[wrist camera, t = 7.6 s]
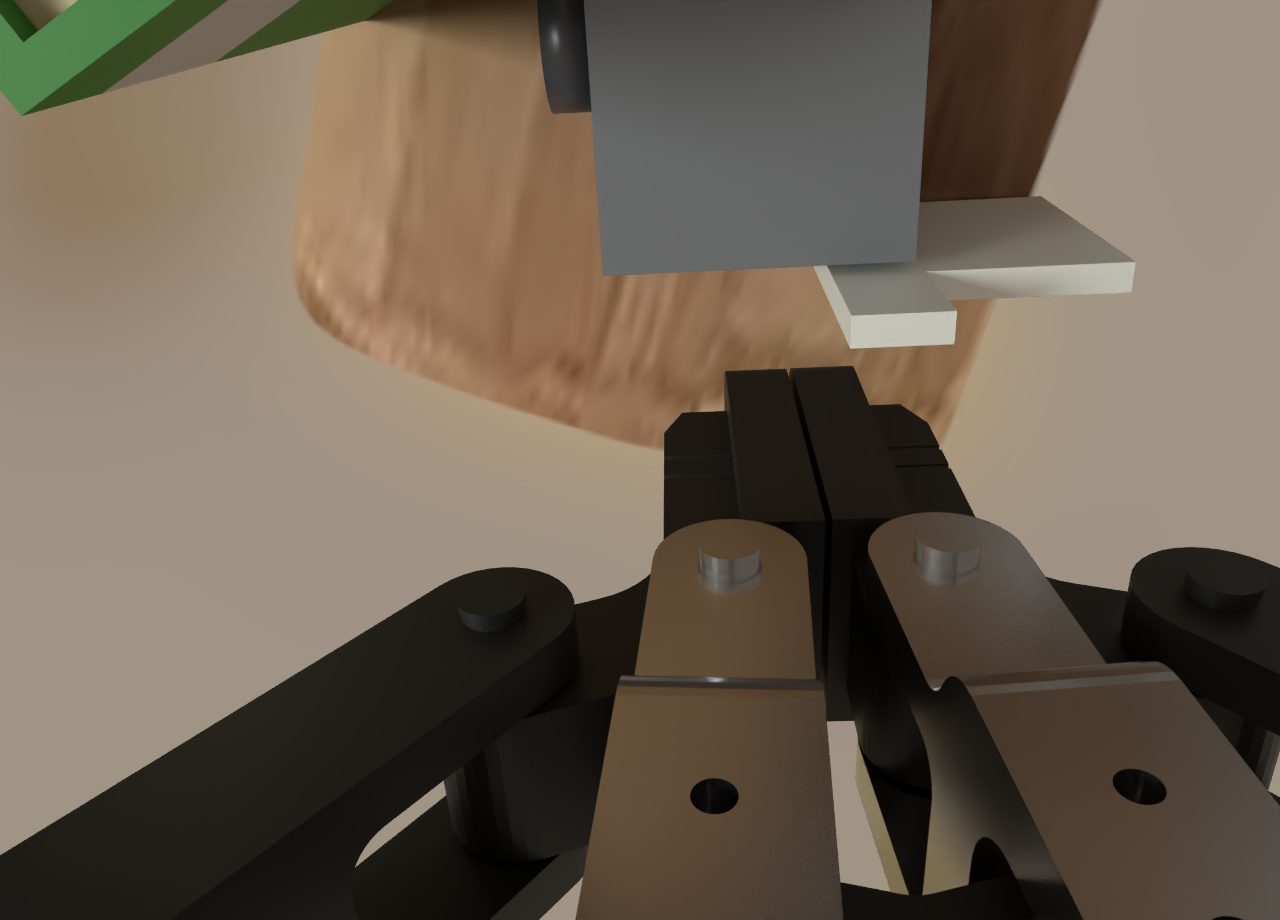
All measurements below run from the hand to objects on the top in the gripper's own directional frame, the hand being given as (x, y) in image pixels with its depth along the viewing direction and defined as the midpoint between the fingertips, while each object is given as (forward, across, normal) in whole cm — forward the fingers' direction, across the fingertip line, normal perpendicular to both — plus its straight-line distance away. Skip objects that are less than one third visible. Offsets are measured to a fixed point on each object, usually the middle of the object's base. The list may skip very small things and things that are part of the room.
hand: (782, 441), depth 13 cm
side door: (+31, -9, +6) cm, 33 cm away
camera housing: (+32, -1, -1) cm, 32 cm away
